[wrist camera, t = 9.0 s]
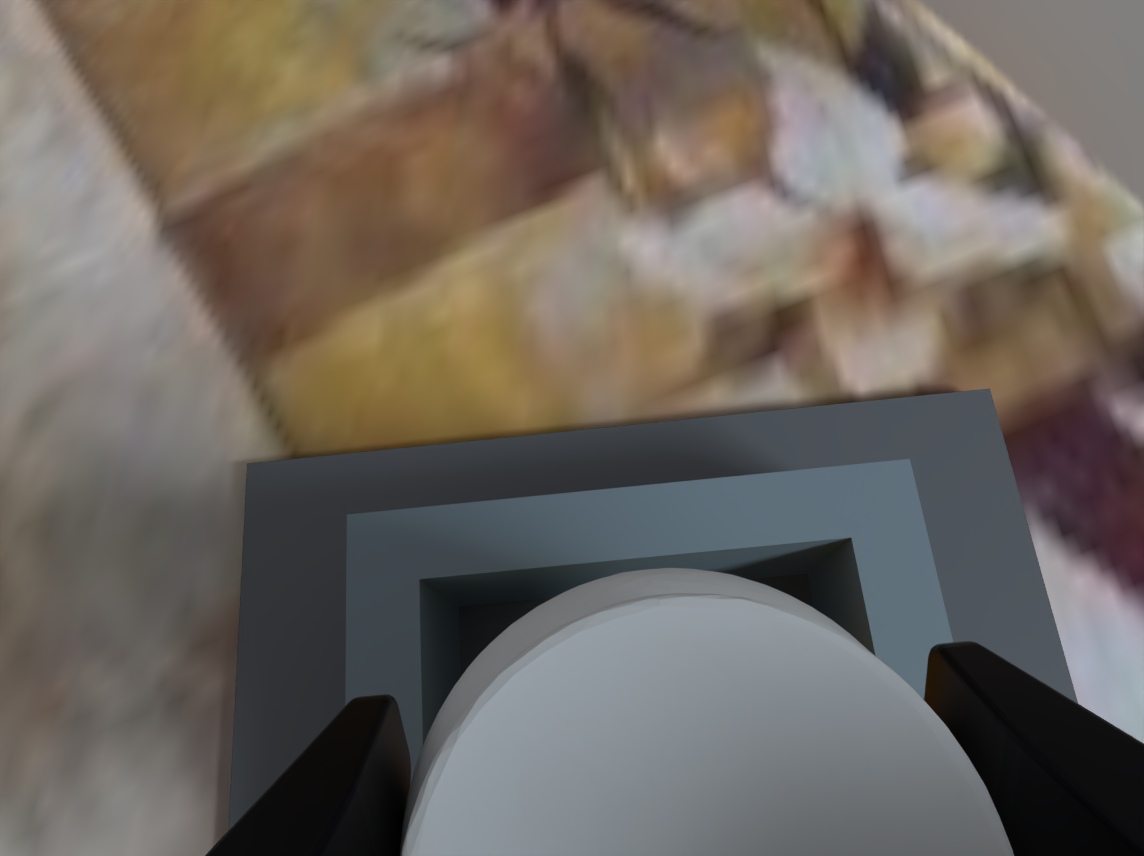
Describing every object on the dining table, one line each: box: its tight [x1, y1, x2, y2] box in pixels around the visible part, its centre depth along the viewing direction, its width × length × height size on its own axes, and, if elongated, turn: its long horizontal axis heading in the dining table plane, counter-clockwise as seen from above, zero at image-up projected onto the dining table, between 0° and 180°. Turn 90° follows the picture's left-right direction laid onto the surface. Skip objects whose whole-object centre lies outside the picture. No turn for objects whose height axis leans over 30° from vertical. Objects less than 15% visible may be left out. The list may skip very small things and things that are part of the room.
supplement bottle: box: [400, 568, 1014, 856], centre depth 10 cm, size 5×5×10 cm
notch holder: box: [228, 389, 1078, 831], centre depth 14 cm, size 14×16×4 cm
